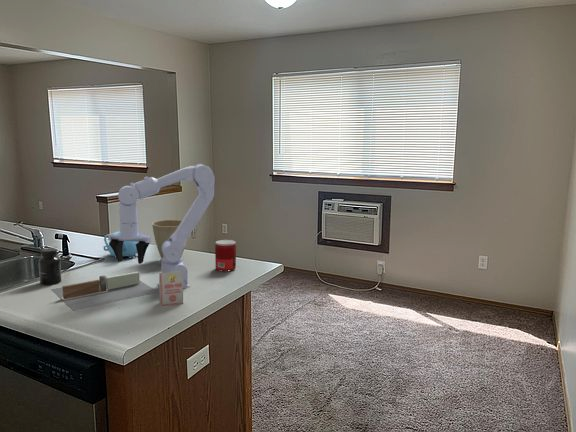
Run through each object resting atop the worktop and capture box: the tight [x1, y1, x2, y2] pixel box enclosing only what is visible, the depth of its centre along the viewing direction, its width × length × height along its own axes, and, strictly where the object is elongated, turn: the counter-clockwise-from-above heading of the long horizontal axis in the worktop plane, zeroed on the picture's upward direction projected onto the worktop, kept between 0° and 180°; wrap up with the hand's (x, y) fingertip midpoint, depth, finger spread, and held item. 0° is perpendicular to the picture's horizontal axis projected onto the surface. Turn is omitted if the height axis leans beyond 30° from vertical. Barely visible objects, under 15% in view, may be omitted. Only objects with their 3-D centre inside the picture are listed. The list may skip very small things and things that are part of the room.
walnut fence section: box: [61, 275, 107, 299], centre depth 149 cm, size 2×13×5 cm, turn 131°
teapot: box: [103, 230, 143, 260], centre depth 197 cm, size 20×17×12 cm
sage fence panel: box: [106, 271, 141, 290], centre depth 157 cm, size 1×11×4 cm, turn 131°
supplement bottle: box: [38, 247, 62, 286], centre depth 160 cm, size 7×7×12 cm
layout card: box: [50, 279, 159, 311], centre depth 154 cm, size 25×27×1 cm
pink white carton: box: [158, 271, 184, 307], centre depth 144 cm, size 4×7×10 cm, turn 112°
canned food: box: [214, 239, 237, 272], centre depth 181 cm, size 8×8×11 cm
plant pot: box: [151, 219, 186, 260], centre depth 192 cm, size 15×15×16 cm
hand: (130, 262), depth 155 cm, fingers open, 7 cm apart
